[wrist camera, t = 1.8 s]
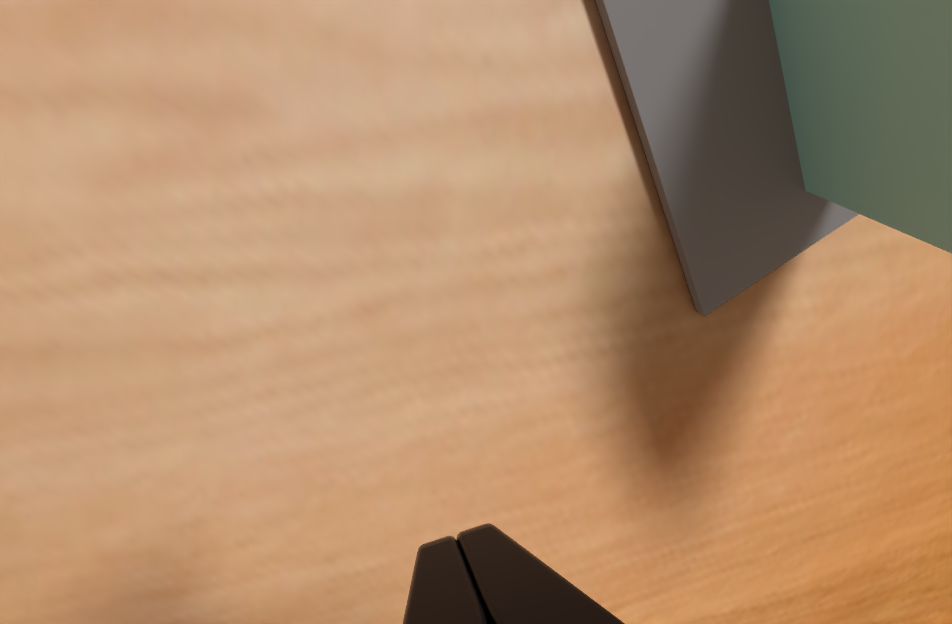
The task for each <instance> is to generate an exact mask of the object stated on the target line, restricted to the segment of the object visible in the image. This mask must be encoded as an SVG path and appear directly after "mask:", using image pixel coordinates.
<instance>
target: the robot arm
mask: <svg viewBox="0 0 952 624" xmlns="http://www.w3.org/2000/svg"><path fill="white" fill-rule="evenodd" d="M403 624H624V623H623V622H622V621H620V620H619V619H618V618H616V617H615V616H614V615H613V614H611V613H610V612H609V611H607V610H606V609H605V608H603V607H602V606H601V605H599V604H598V603H597V602H595V601H594V600H593V599H591V598H590V597H589V596H587V595H586V594H585V593H583V592H582V591H581V590H579V589H578V588H577V587H575V586H574V585H573V584H571V583H570V582H569V581H567V580H566V579H565V578H563V577H562V576H561V575H559V574H558V573H557V572H555V571H554V570H553V569H551V568H550V567H549V566H547V565H546V564H545V563H543V562H542V561H541V560H539V559H538V558H537V557H535V556H534V555H533V554H531V553H530V552H529V551H527V550H526V549H525V548H523V547H522V546H521V545H519V544H518V543H517V542H515V541H514V540H513V539H511V538H510V537H509V536H507V535H506V534H505V533H503V532H502V531H501V530H499V529H498V528H497V527H495V526H494V525H492V524H484V525H480V526H477V527H474V528H471V529H468V530H465V531H462V532H460V533H459V534H458V535H457V541H456V539H455V538H454V537H452V536H447V537H444V538H441V539H438V540H435V541H432V542H429V543H425V544H423V545H422V546H420V547H419V549H418V552H417V557H416V561H415V566H414V571H413V576H412V581H411V586H410V591H409V596H408V601H407V606H406V610H405V615H404V620H403Z"/></svg>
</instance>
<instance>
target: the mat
mask: <svg viewBox="0 0 952 624" xmlns="http://www.w3.org/2000/svg"><path fill="white" fill-rule="evenodd" d="M595 1H596V4H597V7H598V10H599V13H600V16H601V20H602V23H603V26H604V29H605V32H606V35H607V38H608V41H609V44H610V47H611V50H612V53H613V56H614V60H615V63H616V66H617V69H618V72H619V75H620V78H621V81H622V84H623V87H624V90H625V93H626V96H627V99H628V103H629V106H630V109H631V112H632V115H633V118H634V121H635V124H636V127H637V130H638V133H639V136H640V139H641V142H642V146H643V149H644V152H645V155H646V158H647V161H648V164H649V167H650V170H651V173H652V176H653V179H654V182H655V186H656V189H657V192H658V195H659V198H660V201H661V204H662V207H663V210H664V213H665V216H666V219H667V222H668V225H669V229H670V232H671V235H672V238H673V241H674V244H675V247H676V250H677V253H678V256H679V259H680V262H681V265H682V268H683V272H684V275H685V278H686V281H687V284H688V287H689V290H690V293H691V296H692V299H693V302H694V305H695V308H696V311H697V312H699V313H700V314H702V315H703V316H706V315H707V314H709V313H710V312H712V311H713V310H715V309H716V308H718V307H719V306H721V305H722V304H724V303H725V302H727V301H728V300H730V299H731V298H733V297H734V296H736V295H737V294H739V293H740V292H742V291H743V290H745V289H746V288H748V287H749V286H751V285H752V284H754V283H755V282H757V281H758V280H760V279H761V278H763V277H765V276H766V275H768V274H769V273H771V272H772V271H774V270H775V269H777V268H778V267H780V266H781V265H783V264H784V263H786V262H787V261H789V260H790V259H792V258H793V257H795V256H796V255H798V254H799V253H801V252H802V251H804V250H805V249H807V248H808V247H810V246H811V245H813V244H814V243H816V242H817V241H819V240H820V239H822V238H823V237H825V236H826V235H828V234H829V233H831V232H832V231H834V230H835V229H837V228H838V227H840V226H841V225H843V224H844V223H846V222H847V221H849V220H850V219H852V218H853V217H855V216H857V215H858V214H859V213H856V212H854V211H852V210H849V209H847V208H845V207H842V206H840V205H838V204H835V203H833V202H831V201H828V200H826V199H824V198H821V197H819V196H817V195H814V194H812V193H810V192H807V191H805V186H804V181H803V175H802V170H801V165H800V160H799V155H798V149H797V144H796V139H795V134H794V129H793V123H792V118H791V113H790V108H789V103H788V97H787V92H786V87H785V82H784V77H783V71H782V66H781V61H780V56H779V51H778V45H777V40H776V35H775V30H774V25H773V19H772V14H771V9H770V4H769V0H595Z"/></svg>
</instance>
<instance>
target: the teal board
mask: <svg viewBox="0 0 952 624" xmlns="http://www.w3.org/2000/svg"><path fill="white" fill-rule="evenodd" d="M769 4H770V9H771V14H772V19H773V25H774V30H775V35H776V40H777V45H778V51H779V56H780V61H781V66H782V71H783V77H784V82H785V87H786V92H787V97H788V103H789V108H790V113H791V118H792V123H793V129H794V134H795V139H796V144H797V149H798V155H799V160H800V165H801V170H802V175H803V181H804V186H805V191H807V192H810V193H812V194H814V195H817V196H819V197H821V198H824V199H826V200H828V201H831V202H833V203H835V204H838V205H840V206H842V207H845V208H847V209H849V210H852V211H854V212H856V213H859V214H861V215H863V216H866V217H868V218H870V219H873V220H875V221H877V222H880V223H882V224H884V225H887V226H889V227H891V228H894V229H896V230H898V231H901V232H903V233H905V234H908V235H910V236H912V237H915V238H917V239H919V240H922V241H924V242H926V243H929V244H931V245H933V246H936V247H938V248H940V249H943V250H945V251H948V252H950V253H952V0H769Z"/></svg>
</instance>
